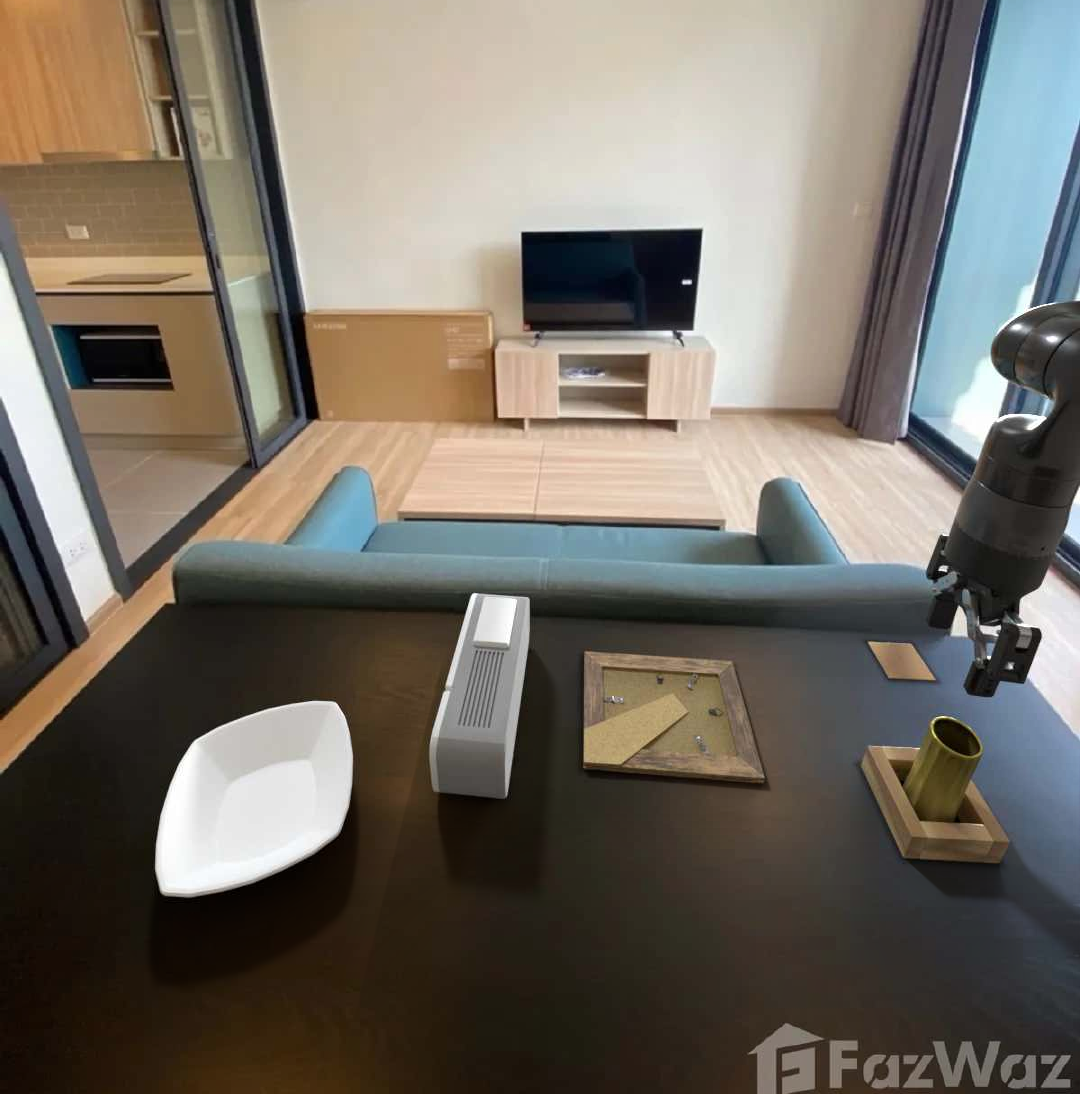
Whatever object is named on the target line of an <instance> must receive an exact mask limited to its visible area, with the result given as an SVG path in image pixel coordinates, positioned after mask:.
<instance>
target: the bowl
mask: <svg viewBox="0 0 1080 1094" xmlns="http://www.w3.org/2000/svg"><path fill="white" fill-rule="evenodd" d="M351 739H352V738H351V733H350V729H349V726H348V722H347V719H346V716H345V714H344V713H343V711H342V710H341V708H340V707H339V705H338V703H337V702H335V701H326V700H312V701H304V702H297V703H296V702H295V703H290V704H285V705H280V706H276V707H271V708H267V709H264V710H261V711H257V712H255V713H252V714H248V715H245V716H242V717H240V718H238V719H235V720H233V721H229V722H227V723H225V724H222V725H220V726H218V727H215V728H214V729H211V730H210V731H209V732H207V733H205V734H204V735H201V736H200V737H198V738H196V739H195V740H193V742H192V743H191V744H190V746H189V747H188V749H187V751H186V752H185V753H184V755H183V757H182V759H181V760H180V761H179V763H178V765H177V768H176V770H175V772H174V775H173V777H172V779H171V782H170V784H169V787H168V790H167V793H166V797H165V799H164V802H163V806H162V809H161V813H160V817H159V821H158V822H159V823H158V830H157V836H156V841H155V857H154V860H155V861H154V870H155V871H154V872H155V876H156V881H157V883H158V884H157V885H158V887H159V888H158V889H159V892H160V894H162V896H164V897H174V898H175V897H178V898H196V897H200V896H206V895H211V894H216V893H223V892H225V891H231V890H233V889H237V888H241V887H243V886H248V885H251V884H255V883H256V882H260V881H261V880H263V879H266V878H268V877H270V876H273V875H275V874H277V873H280V872H283V871H284V870H287V869H288V868H290V867H293V866H294V865H296V864H298V863H300V862H302V861H304V860H306V859H308V858H309V857H312V856H314V855H316V853H317V852H319V851H320V850H321V849H323V848H324V847H325V846H326V845H328V844H329V843H331V842H332V841H333V840H335V839H336V838H337V837H338V836H339V835H340V833H341V831H342V830H343V829H342V828H343V826H344V822H345V819H346V817H347V814H348V812H349V809H350V804H351V803H350V802H351V795H352V788H353V773H354V772H353V771H354V753H353V747H352V740H351Z"/></svg>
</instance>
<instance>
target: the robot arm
mask: <svg viewBox="0 0 1080 1094" xmlns="http://www.w3.org/2000/svg"><path fill="white" fill-rule="evenodd" d="M989 353H990V354H989V355H990V361H991V363H992V366H993V367H994V370H996V372H997V373H998V374H999V375H1000V376H1001V377H1002V378H1003V379H1005V380H1007V381H1008V382H1009V383H1011V384H1012V385H1016V386H1018V387H1019V388H1022V389H1024V390H1026V391H1029V392H1031V393H1034V394H1035V395H1037V396H1041V397H1042V398H1045V399H1047V400H1049V401H1051V402H1053V405H1052V408H1051V411H1050V412H1049V413H1048V415H1047V416H1046V417H1045V416H1038V415H1032V414H1023V413H1017V414H1014V413H1013V414H1007V415H1004V416H1002V417H1001V416H1000V417H999V418H998V419H996V420H994V422H993V423H992V425H991V426H990V428H989V430H988V432H987V434H986V436H985V440H984V442H983V444H982V447H981V450H980V453H979V455H978V459H977V461H976V465H975V467H974V471H973V473H972V474H971V477H970V480H969V481H968V483H967V485H966V486H965V487H964V488H965V489H964V490H963V493H962V495H961V498H960V500H959V503H958V507H957V510H956V513H955V515H954V519H953V522H952V524H951V527H950V531H949V533H948V534H940V535H939V536H938V539H937V541H936V544H935V546H934V549H933V551H932V554H931V556H930V559H929V562H928V564H927V567H926V570H925V577H926V579H927V580H929V581H932V583H933V584H931V587H930V591H931V594H932V596H933V597H932V600H931V602H930V606H929V609H928V611H927V615H926V618H925V622H926V624H927V626H928V627H929V628H932V629H940V630H949V629H950V628H951V627H952V625H953V622H954V620H955V617H956V614H957V611H958V609H959V608H961V609H962V612H963V613H964V615H965V618H966V630H967V631H966V634H967V638H968V639H969V640H971V641H972V642H973V653H974V656H973V657H974V660H972V663H971V665H970V667H969V670H968V672H967V675H966V676H965V680H964V682H963V685H962V687H963V689H964V690H965V692H966V694H968V695H969V696H974V697H980V698H990V699H991V698H992V697H994V696H995V694H996V691H997V689H998V687H999V685H1000V682H1005V683H1010V684H1012V683H1013V684H1018V685H1024V684H1025V683H1026V680H1027V678H1028V675H1029V673H1030V671H1031V668H1032V664H1033V663H1034V659H1035V657H1036V654H1037V652H1038V650H1039V647H1040V644H1041V642H1042V639H1043V635H1042V634H1043V633H1042V630H1041V629H1040V627H1039V626H1035V625H1028V624H1026V623H1025V622H1024V620H1022V618H1021V617H1020V612H1021V611H1020V608H1021V607H1020V605H1021V599H1023V598H1024V597H1026V596H1027V595H1029V594H1031V593H1033V592H1035V591H1037V590H1038V589H1040V587H1041V586H1042V585H1043V583H1044V582H1043V581H1044V580H1045V577H1046V575H1047V572H1048V571H1049V569H1050V566H1051V563H1052V562H1053V559H1054V557H1055V555H1056V553H1057V550H1058V548H1059V545H1060V543H1061V541H1062V539H1063V537H1064V534H1065V531H1066V530H1067V526H1068V524H1069V520H1070V514H1071V510H1072V506H1073V503H1074V500H1075V499H1076V497H1077V494H1078V491H1079V489H1080V300H1070V301H1060V302H1052V303H1048V304H1042V305H1038V306H1036V307H1033V308H1030V309H1028V310H1025V311H1023V312H1021V313H1019V314H1018V315H1016V316H1014V317H1013V318H1011V319H1010V320H1008V321H1007V322H1006V323H1005V324H1004V325H1002V327H1001V328H1000V329H998V331H997V333H996V334H995V336H994V338H993V340H992V343H991V345H990V352H989ZM941 567H947V568H946V569H940V568H941ZM981 626H982V627H983V626H984V627H990V628H991V627H999V626H1000V629H996V631H995V633H996V634H994V633H987V632H983V631H982V630H981ZM988 644H994V647H993V649H992V651H991V655H988Z"/></svg>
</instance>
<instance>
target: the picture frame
mask: <svg viewBox="0 0 1080 1094" xmlns="http://www.w3.org/2000/svg"><path fill="white" fill-rule="evenodd" d="M583 653H584V654H583V659H584V662H583V757H582V758H583V763H582V764H583V766H582V767H583V770H589V771H590V770H591V771H604V772H616V773H628V774H639V775H640V774H641V775H653V776H665V777H666V776H667V777H679V778H691V779H702V780H703V779H704V780H717V781H727V782H728V781H729V782H739V783H740V782H741V783H752V784H764V781H765V778H766V777H765V773H764V769H763V766H762V762H761V760H760V756H759V752H758V749H757V745H756V740H755V738H754V737H755V736H754V733H753V730H752V727H751V722H750V720H749V716H748V712H747V709H746V704H745V702H744V701H745V700H744V698H743V695H742V690H741V687H740V683H739V680H738V676H737V673H736V669H735V666H734V662H733V661H732V660H721V659H720V660H719V659H707V658H706V659H704V658H689V657H676V656H675V657H674V656H662V655H661V656H659V655H645V654H630V653H616V652H615V653H614V652H601V651H600V652H598V651H587V650H586V651H584V652H583Z"/></svg>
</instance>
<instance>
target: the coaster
mask: <svg viewBox="0 0 1080 1094" xmlns="http://www.w3.org/2000/svg"><path fill="white" fill-rule="evenodd" d="M867 644H868V646H869V647H870V649H871V651H872V652H873V654H874V656H875V657H876V659H877V661H878V663H879V665H880V666H881V668H882V670H883V671H884V672H885V674H886V676H887V678H888V679H890V680H910V681H913V680H914V681H935V682H936V681H937V679H936V678H935V676H934V675H933V674H932V672H931V671H930V669H929V668H928V666H927V664H926V663H925V662H924V660H923V658H922V657H921V656H920V655H919V653H918V652H917V650H916V649H915V647H914V646H913V644H912V643H904V642H903V643H900V642H878V641H877V642H875V641H867Z"/></svg>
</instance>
